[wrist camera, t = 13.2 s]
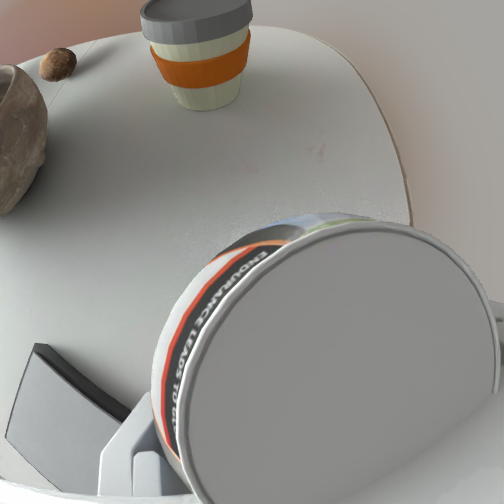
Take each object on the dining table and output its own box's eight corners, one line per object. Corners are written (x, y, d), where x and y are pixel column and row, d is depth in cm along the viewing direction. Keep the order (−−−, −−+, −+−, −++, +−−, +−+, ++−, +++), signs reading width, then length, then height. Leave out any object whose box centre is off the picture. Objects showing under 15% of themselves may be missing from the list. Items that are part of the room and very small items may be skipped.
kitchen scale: (107, 511, 21) (97, 521, 18) (15, 434, 23) (1, 438, 20) (153, 424, 25) (143, 431, 22) (47, 343, 27) (31, 342, 24)
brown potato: (32, 72, 38) (34, 50, 33) (65, 58, 42) (71, 37, 38) (44, 97, 40) (47, 76, 35) (79, 82, 44) (85, 61, 39)
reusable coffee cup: (259, 114, 36) (262, 14, 21) (162, 128, 35) (129, 35, 21) (246, 60, 39) (244, -22, 25) (165, 72, 39) (144, -7, 25)
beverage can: (237, 264, 16) (204, 66, 4) (362, 331, 14) (562, 274, 3) (175, 369, 14) (-15, 405, 2) (303, 437, 13) (409, 597, 1)
